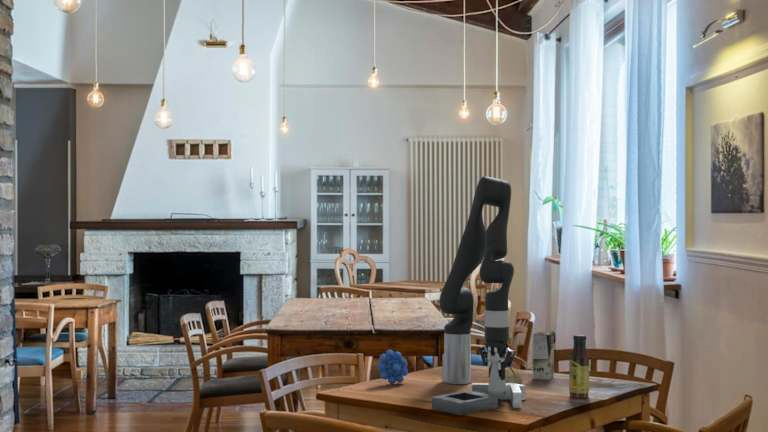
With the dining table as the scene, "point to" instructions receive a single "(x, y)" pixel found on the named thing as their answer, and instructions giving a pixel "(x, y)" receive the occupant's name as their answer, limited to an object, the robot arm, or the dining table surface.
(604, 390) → the dining table surface
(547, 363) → the coffee box
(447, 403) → the grey rectangular frame
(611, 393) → the dining table surface
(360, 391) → the dining table surface
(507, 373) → the bread roll
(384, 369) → the grapes
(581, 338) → the sauce bottle
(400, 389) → the dining table surface
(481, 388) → the v block
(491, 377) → the salt shaker
